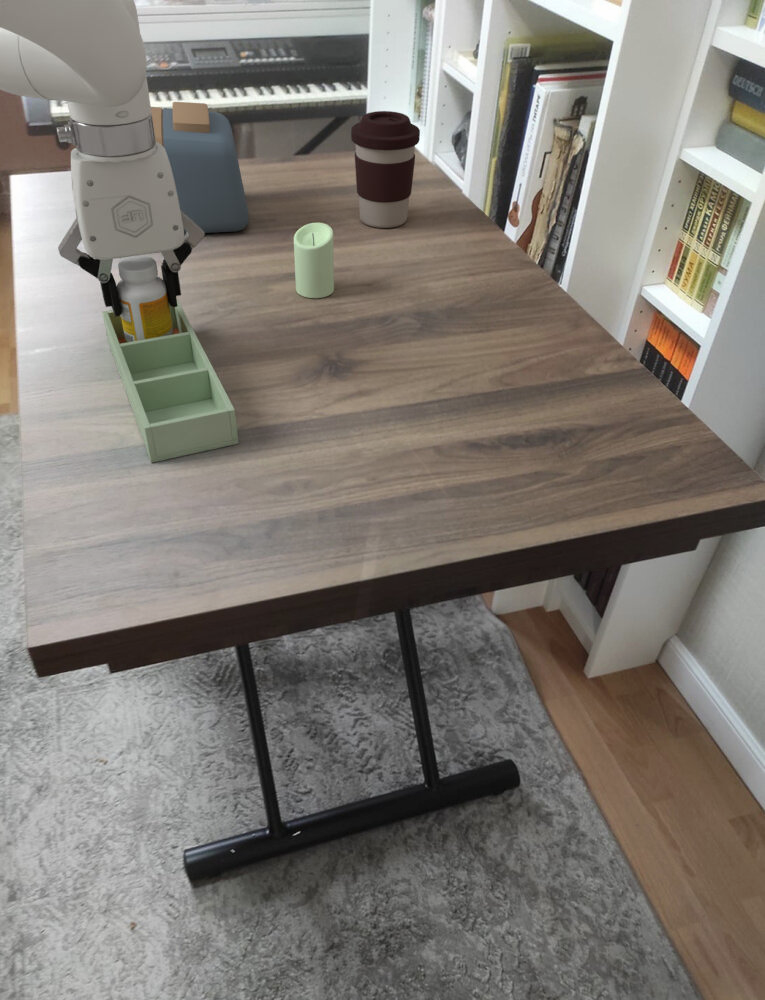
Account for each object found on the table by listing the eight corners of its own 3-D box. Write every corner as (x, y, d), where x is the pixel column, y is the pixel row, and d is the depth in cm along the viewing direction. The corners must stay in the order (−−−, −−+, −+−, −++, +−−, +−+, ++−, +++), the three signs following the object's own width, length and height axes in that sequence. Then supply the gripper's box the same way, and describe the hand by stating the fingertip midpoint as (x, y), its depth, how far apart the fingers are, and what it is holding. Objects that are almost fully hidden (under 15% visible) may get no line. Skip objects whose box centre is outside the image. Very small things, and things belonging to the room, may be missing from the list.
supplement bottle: (180, 334, 97) (169, 254, 91) (166, 357, 93) (154, 275, 87) (135, 330, 98) (121, 251, 91) (119, 353, 93) (103, 272, 87)
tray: (151, 463, 81) (144, 428, 78) (108, 343, 98) (101, 311, 95) (238, 443, 83) (235, 409, 81) (182, 330, 101) (177, 299, 98)
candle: (322, 302, 107) (320, 240, 102) (288, 293, 109) (285, 232, 104) (340, 287, 111) (340, 226, 105) (308, 278, 112) (306, 219, 107)
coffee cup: (354, 233, 124) (354, 128, 115) (348, 209, 132) (347, 107, 122) (420, 231, 126) (425, 127, 116) (410, 207, 133) (414, 107, 123)
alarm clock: (140, 200, 133) (122, 92, 122) (243, 195, 135) (234, 89, 125) (137, 241, 120) (117, 125, 110) (251, 235, 123) (242, 121, 113)
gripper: (25, 156, 75) (68, 335, 87) (211, 137, 81) (228, 308, 92) (17, 132, 81) (59, 304, 92) (193, 116, 86) (211, 280, 98)
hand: (144, 304), depth 92 cm, fingers closed on supplement bottle, 5 cm apart
